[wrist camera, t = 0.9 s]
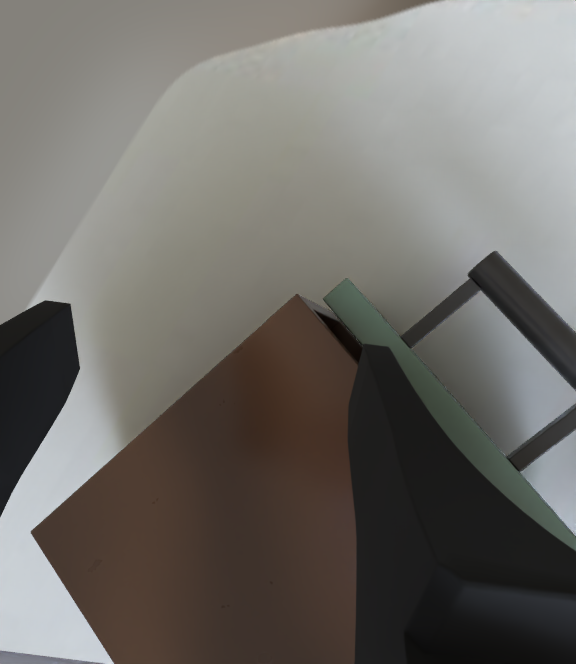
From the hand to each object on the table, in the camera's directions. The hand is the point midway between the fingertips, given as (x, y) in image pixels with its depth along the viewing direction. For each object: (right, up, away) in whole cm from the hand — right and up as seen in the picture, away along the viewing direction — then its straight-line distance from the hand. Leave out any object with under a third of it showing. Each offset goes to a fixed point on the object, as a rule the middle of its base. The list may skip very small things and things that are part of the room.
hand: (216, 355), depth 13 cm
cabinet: (+3, -8, +13) cm, 16 cm away
